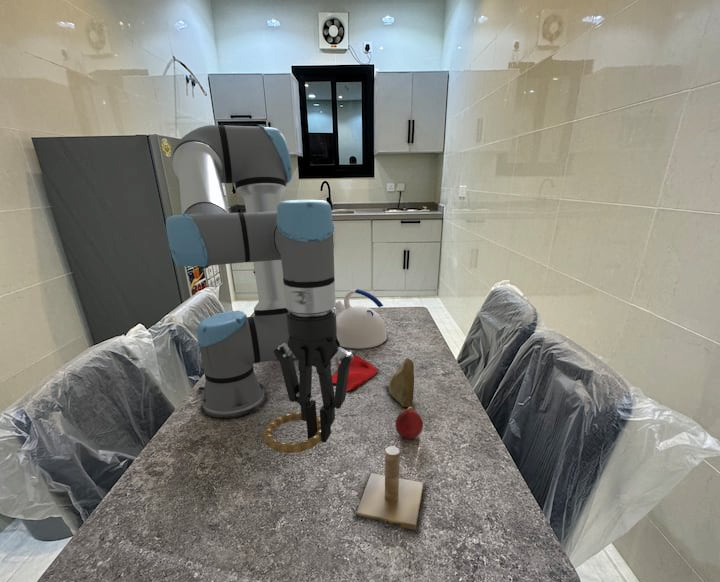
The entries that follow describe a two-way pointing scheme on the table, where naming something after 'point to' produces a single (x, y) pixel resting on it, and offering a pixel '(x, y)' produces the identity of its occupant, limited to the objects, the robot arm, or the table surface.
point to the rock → (403, 384)
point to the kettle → (359, 324)
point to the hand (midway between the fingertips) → (319, 436)
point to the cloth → (357, 373)
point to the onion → (409, 423)
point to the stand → (392, 494)
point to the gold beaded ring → (290, 446)
